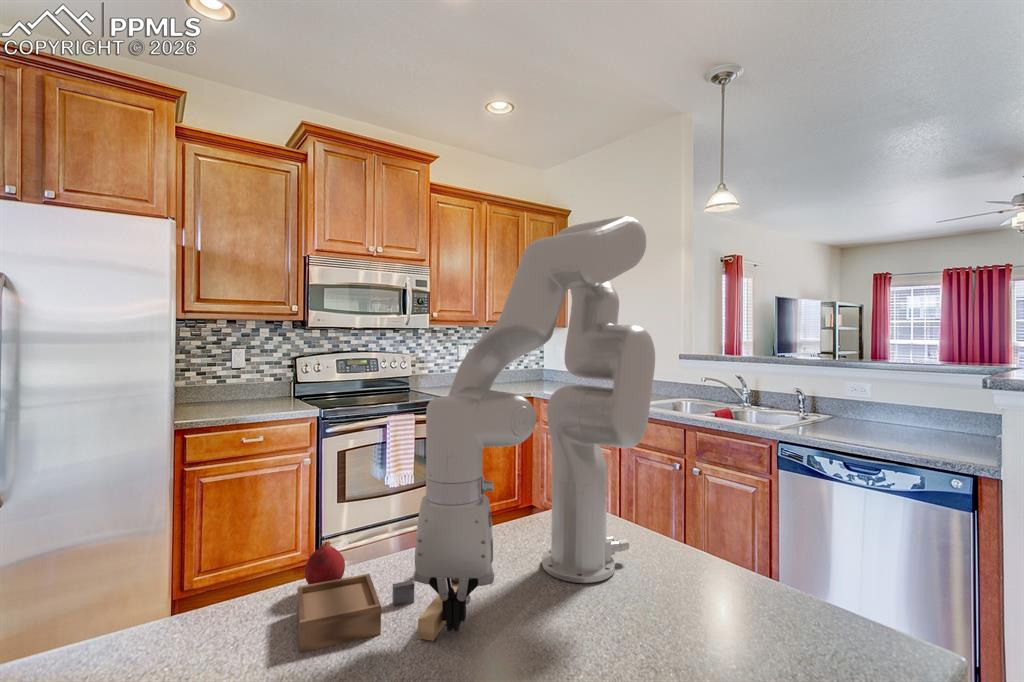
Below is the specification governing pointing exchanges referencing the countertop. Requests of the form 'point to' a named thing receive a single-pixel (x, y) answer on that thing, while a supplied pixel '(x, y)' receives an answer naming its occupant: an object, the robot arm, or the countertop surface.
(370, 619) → the wooden tray
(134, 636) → the countertop surface
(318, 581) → the onion
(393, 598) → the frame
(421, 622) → the leg
